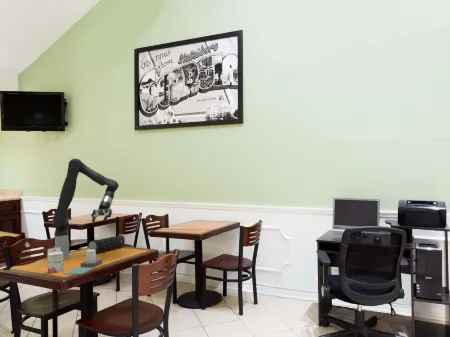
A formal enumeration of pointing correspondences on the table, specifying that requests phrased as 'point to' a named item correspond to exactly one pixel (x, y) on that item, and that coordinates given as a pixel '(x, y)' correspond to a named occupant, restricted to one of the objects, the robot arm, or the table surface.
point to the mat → (78, 271)
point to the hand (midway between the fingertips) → (98, 221)
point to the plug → (90, 256)
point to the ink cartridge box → (55, 260)
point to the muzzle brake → (107, 243)
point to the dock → (91, 264)
